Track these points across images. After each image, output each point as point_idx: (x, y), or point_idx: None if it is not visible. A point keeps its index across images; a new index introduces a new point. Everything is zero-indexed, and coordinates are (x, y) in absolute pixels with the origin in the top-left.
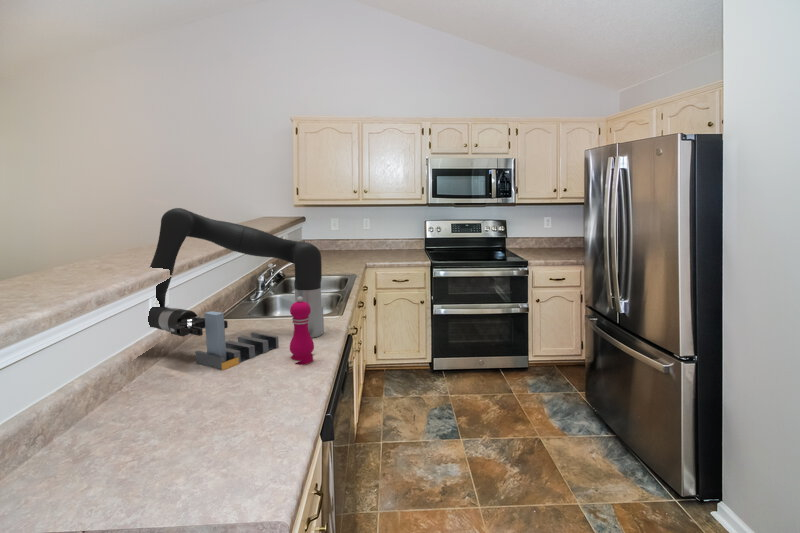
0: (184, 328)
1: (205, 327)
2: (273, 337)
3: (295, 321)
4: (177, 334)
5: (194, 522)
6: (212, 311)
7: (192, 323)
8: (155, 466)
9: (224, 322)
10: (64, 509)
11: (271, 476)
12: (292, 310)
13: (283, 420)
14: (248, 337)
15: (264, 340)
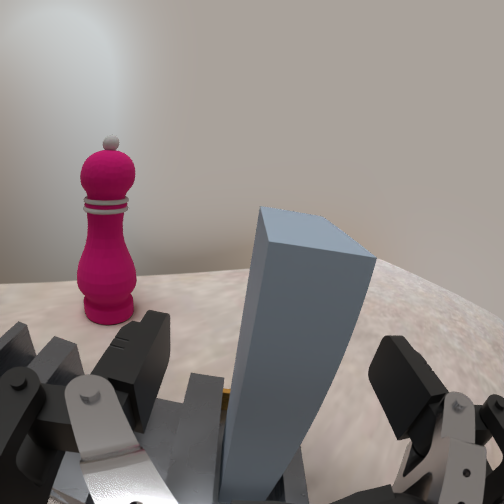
0: (483, 404)
1: (327, 391)
2: (20, 331)
3: (124, 204)
4: (489, 471)
5: (414, 274)
6: (274, 236)
7: (418, 501)
8: (438, 306)
9: (167, 324)
10: (479, 311)
11: None
12: (130, 171)
13: None
14: None
15: (53, 344)
